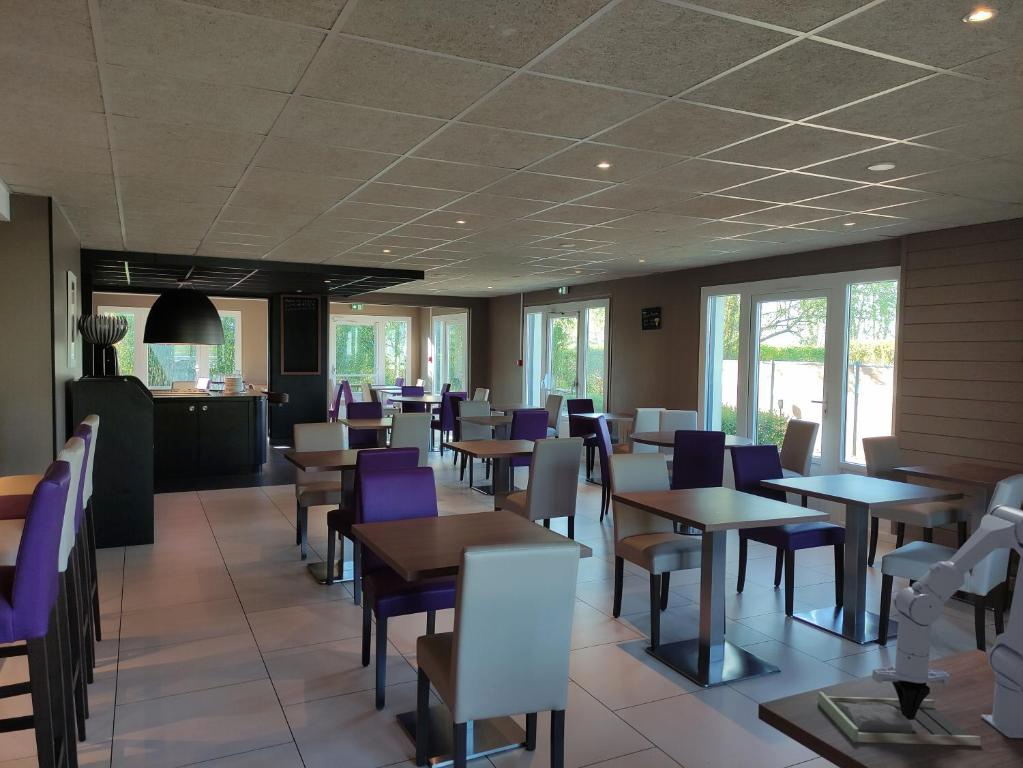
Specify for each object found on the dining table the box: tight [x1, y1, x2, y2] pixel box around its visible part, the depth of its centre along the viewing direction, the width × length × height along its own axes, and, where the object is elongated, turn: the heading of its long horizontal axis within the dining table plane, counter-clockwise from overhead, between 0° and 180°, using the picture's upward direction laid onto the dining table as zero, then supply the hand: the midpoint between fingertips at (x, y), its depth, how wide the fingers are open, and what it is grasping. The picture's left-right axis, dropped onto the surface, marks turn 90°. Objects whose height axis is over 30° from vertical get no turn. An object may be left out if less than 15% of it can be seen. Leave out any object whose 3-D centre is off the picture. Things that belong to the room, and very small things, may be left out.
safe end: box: [817, 691, 859, 743], centre depth 141 cm, size 1×14×2 cm, turn 2°
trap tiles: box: [914, 707, 969, 736], centre depth 142 cm, size 7×12×1 cm, turn 2°
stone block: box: [836, 702, 914, 734], centre depth 141 cm, size 12×5×10 cm
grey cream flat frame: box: [826, 695, 982, 746], centre depth 142 cm, size 24×14×2 cm, turn 92°
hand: (907, 717), depth 142 cm, fingers closed
